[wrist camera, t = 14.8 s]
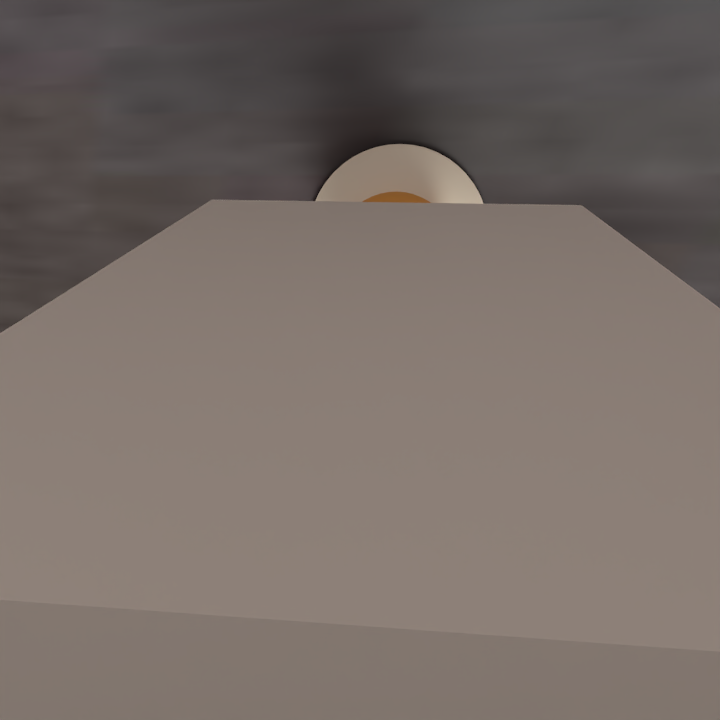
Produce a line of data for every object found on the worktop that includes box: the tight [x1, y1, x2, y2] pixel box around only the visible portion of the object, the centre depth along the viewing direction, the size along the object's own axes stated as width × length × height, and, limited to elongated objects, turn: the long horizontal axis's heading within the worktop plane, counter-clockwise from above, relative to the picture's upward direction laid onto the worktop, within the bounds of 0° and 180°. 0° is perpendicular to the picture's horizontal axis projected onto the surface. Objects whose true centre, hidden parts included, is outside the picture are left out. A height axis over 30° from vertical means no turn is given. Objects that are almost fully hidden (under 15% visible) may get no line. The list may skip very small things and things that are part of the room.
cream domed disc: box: [316, 144, 483, 204], centre depth 24 cm, size 8×8×1 cm
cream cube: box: [0, 200, 720, 720], centre depth 8 cm, size 7×7×9 cm
